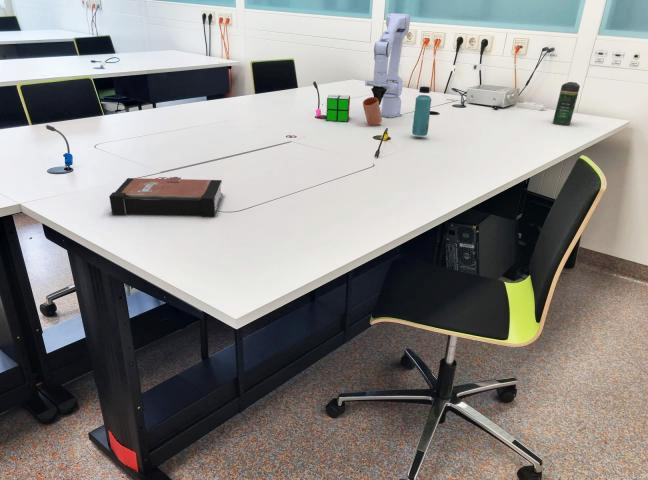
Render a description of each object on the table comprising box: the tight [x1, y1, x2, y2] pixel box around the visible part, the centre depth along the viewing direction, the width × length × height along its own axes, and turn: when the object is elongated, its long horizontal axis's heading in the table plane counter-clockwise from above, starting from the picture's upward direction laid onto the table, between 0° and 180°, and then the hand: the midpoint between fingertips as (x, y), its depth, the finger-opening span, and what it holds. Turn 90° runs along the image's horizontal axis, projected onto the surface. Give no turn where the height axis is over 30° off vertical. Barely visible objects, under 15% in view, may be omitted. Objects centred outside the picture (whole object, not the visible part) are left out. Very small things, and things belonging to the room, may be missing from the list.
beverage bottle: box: [411, 85, 432, 137], centre depth 220 cm, size 6×7×20 cm
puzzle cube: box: [325, 94, 351, 123], centre depth 250 cm, size 10×10×10 cm
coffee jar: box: [552, 81, 581, 126], centre depth 256 cm, size 10×8×19 cm
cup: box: [362, 96, 383, 127], centre depth 240 cm, size 7×7×10 cm
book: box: [108, 176, 224, 218], centre depth 146 cm, size 26×18×5 cm
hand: (377, 104), depth 241 cm, fingers closed, pressing on cup
